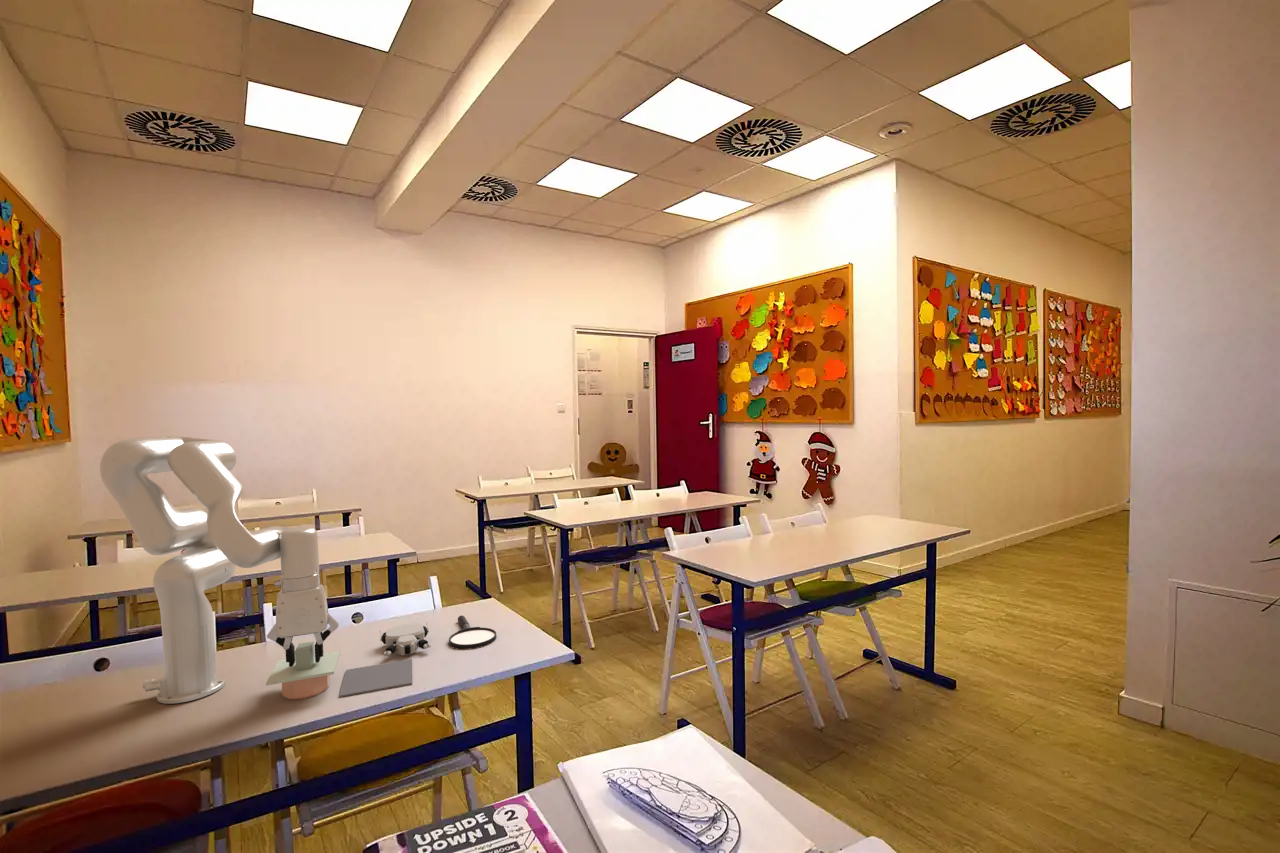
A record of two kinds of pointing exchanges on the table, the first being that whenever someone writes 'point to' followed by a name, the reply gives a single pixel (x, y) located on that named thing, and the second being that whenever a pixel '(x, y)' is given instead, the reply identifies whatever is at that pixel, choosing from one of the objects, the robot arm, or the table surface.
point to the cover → (304, 665)
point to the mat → (377, 677)
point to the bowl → (305, 687)
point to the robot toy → (405, 639)
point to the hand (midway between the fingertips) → (305, 661)
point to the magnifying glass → (471, 636)
